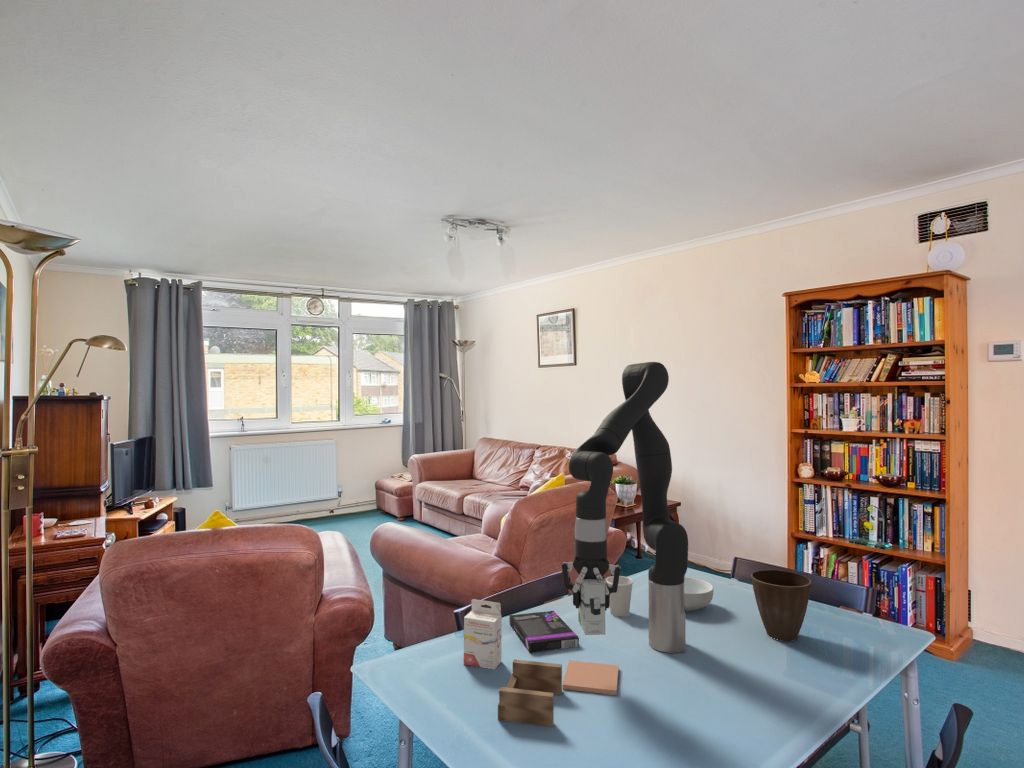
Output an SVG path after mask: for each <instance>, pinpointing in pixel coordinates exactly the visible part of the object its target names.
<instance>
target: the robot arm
mask: <svg viewBox="0 0 1024 768" xmlns="http://www.w3.org/2000/svg"><path fill="white" fill-rule="evenodd" d="M669 379H670V378H669V372H668V369H667V368H666V367H665V365H664V364H663V363H661V362H659V361H648V362H639V363H633V364H628V365H626V367H624V369H623V371H622V375H621V384H622V391H623V394H624V400H625V401H624V402H622V403H621V404H619V405H618V406H617V407H615V408H614V409H612V411H610V412H609V413H608V415H606V416H605V418H604V419H603V420H602V422H601V424H600V425H599V426H598V428H597V429H596V431H595V432H594V434H592V436H590V437H589V438H588V439H587V440H585V441H584V442H583V443H582V444H581V445H579V447H577V448H576V449H575V451H574V452H573V453H572V454H571V456H570V459H569V461H568V471H569V474H570V476H571V477H572V478H574V479H576V480H578V481H585V482H590V485H589V488H588V490H582V491H579V492H577V495H576V496H575V497H576V498H575V524H574V532H573V533H574V559H573V560H572V561H566V560H564V561H563V562H562V564H561V570H562V571H561V572H562V575H563V576H562V577H563V578H562V579H563V584H564V588H565V589H566V590H570V591H571V592H572V605H573V606H575V609H579V606H580V590H579V587H580V585H581V583H582V580H583V579H598V580H601V581H604V582H605V583H604V584H605V612H606V611H607V609H610V607H609V606H610V594H611V593H616V592H617V588H618V582H619V576H621V575H620V574H621V569H622V568H621V565H620V564H618V563H617V564H611V563H609V561H608V524H607V497H608V493H609V489H610V486H611V481H612V478H613V474H614V463H613V461H612V458H611V456H613V455H616V454H617V453H618V451H619V450H620V449H621V447H622V445H624V442H625V440H626V439H627V437H628V436H629V434H630V432H631V433H632V439H633V447H634V456H635V457H634V458H635V464H636V471H637V476H638V483H639V491H640V497H641V507H642V511H641V512H642V532H643V533H642V534H643V538H644V541H645V543H646V545H647V546H648V547H649V548H650V549H651V550H653V551H655V557H654V558H655V561H654V565H651V566H650V567H649V568H648V573H647V575H648V645H649V646H650V648H652V649H654V650H656V651H659V652H661V653H662V652H663V653H671V654H673V653H679V652H684V653H685V652H686V651H687V649H686V647H687V646H686V645H687V643H686V638H687V637H686V636H687V635H686V634H687V633H686V630H687V629H686V611H685V602H684V577H686V573H687V571H688V567H689V566H688V563H689V537H688V533H687V530H686V529H685V527H684V526H683V525H682V524H680V523H679V522H677V521H674V520H672V519H671V515H670V510H669V505H668V490H669V487H670V482H671V478H672V473H673V462H672V456H671V455H672V454H671V450H670V449H671V448H670V444H669V441H668V440H667V438H666V436H665V435H664V433H663V431H662V430H661V429H660V427H659V426H658V425H657V424H656V421H654V419H653V417H652V416H651V414H650V411H649V409H651V408H652V406H653V405H654V404H655V403H656V402H657V401H658V400H659V399H660V398H661V397H662V395H663V394H664V393H665V392H666V390H667V388H668V385H669ZM572 568H574V570H575V571H576V573H577V574H579V575H578V576H577V577H576V580H575V582H574V583H573V582H572V581H571V580H572V579H571V574H570V572H572ZM608 570H610V573H611V575H612V576H614V579H613V585H612V586H608V583H607V581H606V578H607V577H606V573H607V572H608Z"/></svg>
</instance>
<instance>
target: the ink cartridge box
mask: <svg viewBox="0 0 1024 768" xmlns="http://www.w3.org/2000/svg"><path fill="white" fill-rule="evenodd" d="M470 601H471V602H470V603H471V610H470V611H469V612H468V613H467V614H466V615H465V616H464V617H463V664H464V665H466V666H467V665H468V666H473V667H477V668H483V669H487V668H488V670H493V671H494V670H495V671H496V669H497V668H498V667H499V665H500V663H501V662H502V631H503V630H502V626H503V625H502V623H503V621H502V619H503V618H502V609H501V606H502V605H501V602H494V601H490V600H482V599H475V598H473V599H471V600H470ZM485 605H487V606H488V607H483V606H485ZM489 607H490V608H489Z"/></svg>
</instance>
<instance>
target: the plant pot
mask: <svg viewBox="0 0 1024 768" xmlns="http://www.w3.org/2000/svg"><path fill="white" fill-rule="evenodd" d="M750 578H751V582H752V583H751V584H752V589H753V593H754V598H755V602H756V606H757V609H758V612H759V616H760V619H761V621H762V624H763V626H764V629H765V632H766V634H767V636H768V635H769V636H770V637H769V636H768V637H769V638H771V637H772V638H771V639H773V638H775V639H774V640H776V639H778V640H777V641H779V640H782V641H781V642H794V641H796V640H797V638H798V636H799V634H800V633H801V629H802V627H803V626H802V625H803V623H804V620H805V617H806V613H807V609H808V606H809V605H808V604H809V600H810V593H811V587H812V586H811V584H812V581H811V579H810V578H809V577H808V576H805V575H802V574H801V573H797V572H794V571H793V572H792V571H789V570H781V569H780V570H779V569H760V570H755V571H753V572H752V573H751V577H750ZM793 640H794V641H793Z"/></svg>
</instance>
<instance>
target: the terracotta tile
mask: <svg viewBox="0 0 1024 768" xmlns="http://www.w3.org/2000/svg"><path fill="white" fill-rule="evenodd" d="M618 680H619V665H618V664H609V663H602V662H601V663H599V662H591V661H590V662H589V661H581V660H579V661H578V660H570V659H569V660H568V662H567V667H566V670H565V675H564V677H563V680H562V690H567V689H569V691H578V692H584V693H585V692H587V693H593V694H594V693H595V694H603V695H611V696H613V695H614V696H617V693H618Z"/></svg>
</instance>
